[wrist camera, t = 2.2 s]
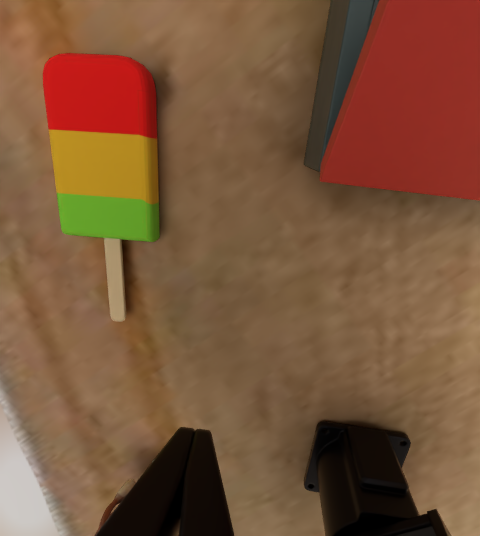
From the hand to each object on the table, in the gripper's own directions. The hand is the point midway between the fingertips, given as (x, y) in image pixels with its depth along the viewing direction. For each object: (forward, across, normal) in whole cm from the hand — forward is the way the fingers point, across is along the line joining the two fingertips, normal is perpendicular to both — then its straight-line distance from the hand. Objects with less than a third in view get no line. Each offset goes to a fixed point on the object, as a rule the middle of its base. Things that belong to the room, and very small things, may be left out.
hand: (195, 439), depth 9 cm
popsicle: (+13, +7, -3) cm, 16 cm away
